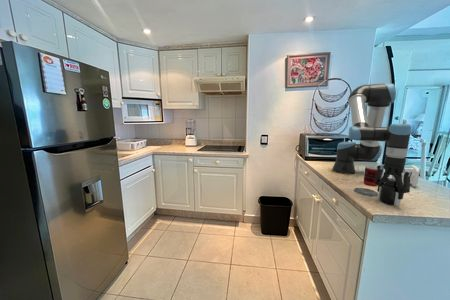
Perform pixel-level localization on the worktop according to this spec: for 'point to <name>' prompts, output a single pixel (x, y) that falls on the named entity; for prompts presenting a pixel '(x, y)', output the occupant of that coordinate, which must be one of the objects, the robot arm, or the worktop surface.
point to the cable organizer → (414, 175)
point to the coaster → (366, 191)
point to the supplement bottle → (388, 191)
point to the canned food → (370, 175)
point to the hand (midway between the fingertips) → (388, 201)
